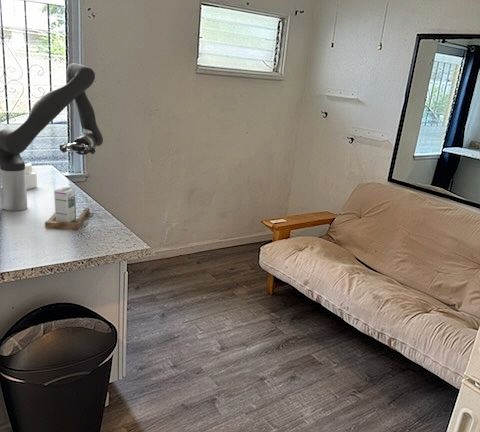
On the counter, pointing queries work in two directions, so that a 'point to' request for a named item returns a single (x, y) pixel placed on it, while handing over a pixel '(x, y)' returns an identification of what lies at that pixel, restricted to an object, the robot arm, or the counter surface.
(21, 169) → the robot arm
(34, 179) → the medicine bottle
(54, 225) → the open wooden frame
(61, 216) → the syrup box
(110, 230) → the counter surface
